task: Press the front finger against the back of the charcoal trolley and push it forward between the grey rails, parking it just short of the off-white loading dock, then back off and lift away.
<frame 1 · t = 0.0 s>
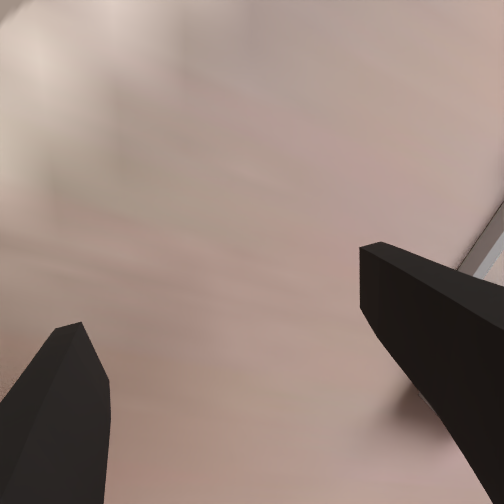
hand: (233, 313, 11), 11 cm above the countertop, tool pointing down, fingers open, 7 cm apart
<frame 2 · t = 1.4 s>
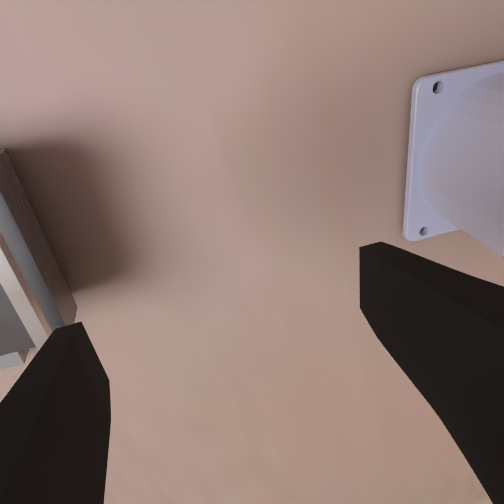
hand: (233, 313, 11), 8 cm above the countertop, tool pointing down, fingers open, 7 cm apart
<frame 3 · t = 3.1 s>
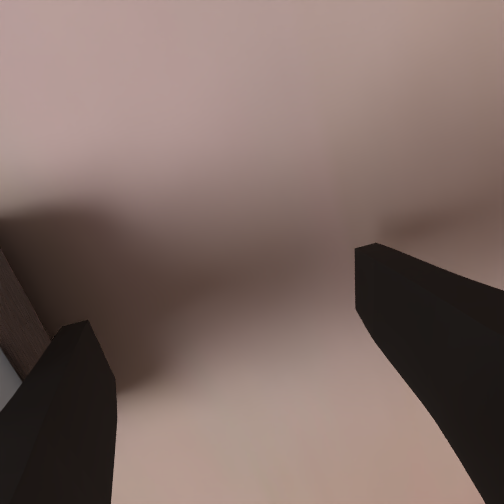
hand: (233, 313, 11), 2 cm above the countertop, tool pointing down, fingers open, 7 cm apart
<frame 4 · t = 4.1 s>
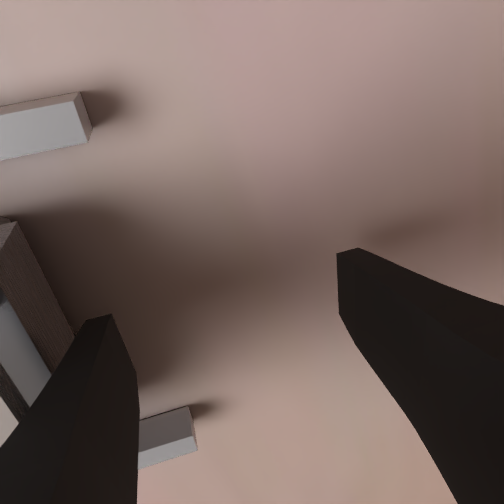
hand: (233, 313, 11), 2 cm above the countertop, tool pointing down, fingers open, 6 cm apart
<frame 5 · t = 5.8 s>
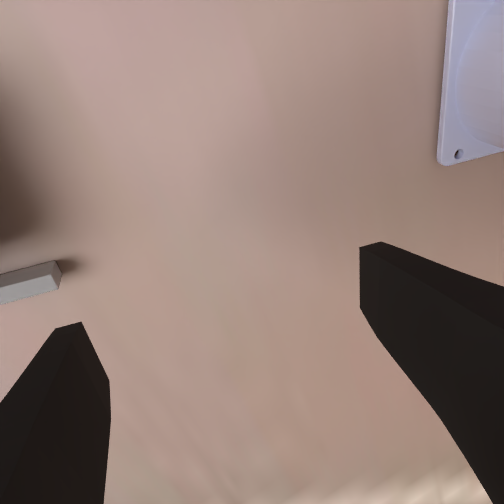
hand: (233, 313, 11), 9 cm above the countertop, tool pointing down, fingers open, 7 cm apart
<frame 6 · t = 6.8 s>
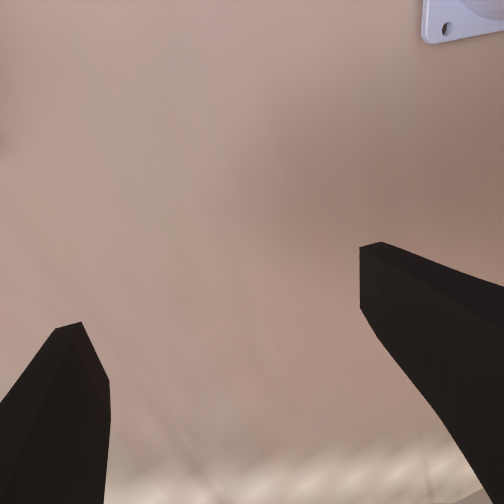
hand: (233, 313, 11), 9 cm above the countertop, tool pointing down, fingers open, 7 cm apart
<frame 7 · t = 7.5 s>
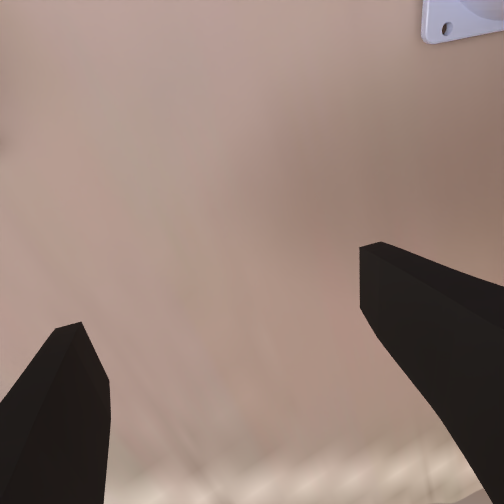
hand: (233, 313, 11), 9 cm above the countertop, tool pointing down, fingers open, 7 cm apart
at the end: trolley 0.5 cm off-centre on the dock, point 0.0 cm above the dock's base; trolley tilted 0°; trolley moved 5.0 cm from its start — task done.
